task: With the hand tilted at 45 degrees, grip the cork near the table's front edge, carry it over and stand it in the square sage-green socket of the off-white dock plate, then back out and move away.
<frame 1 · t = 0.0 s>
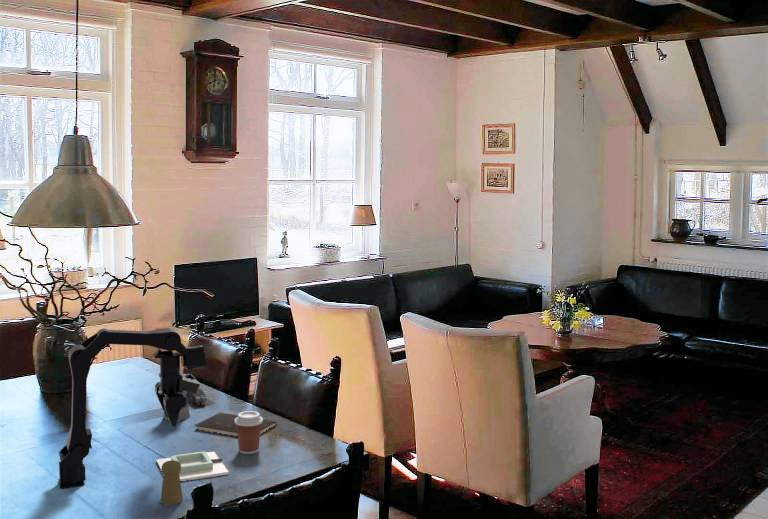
hand: (171, 421, 243), 15 cm above the table, tool pointing down, fingers open, 9 cm apart
cork: (171, 501, 223), on the table
coffee cup: (248, 450, 262), on the table
gun: (194, 399, 315), on the table
dock plate: (191, 468, 246), on the table
coffeepot: (176, 418, 292), on the table
hardcover book: (236, 429, 283), on the table
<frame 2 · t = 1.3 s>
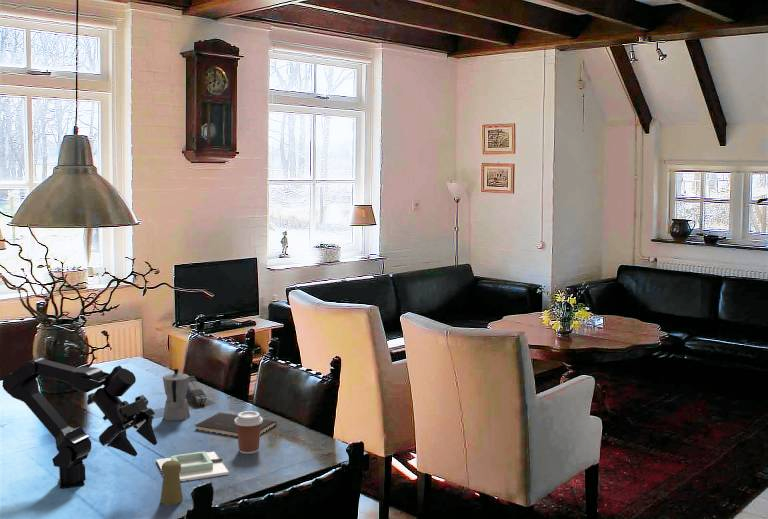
hand: (146, 449, 224), 13 cm above the table, tool tilted 45°, fingers open, 9 cm apart
nothing on the table moved.
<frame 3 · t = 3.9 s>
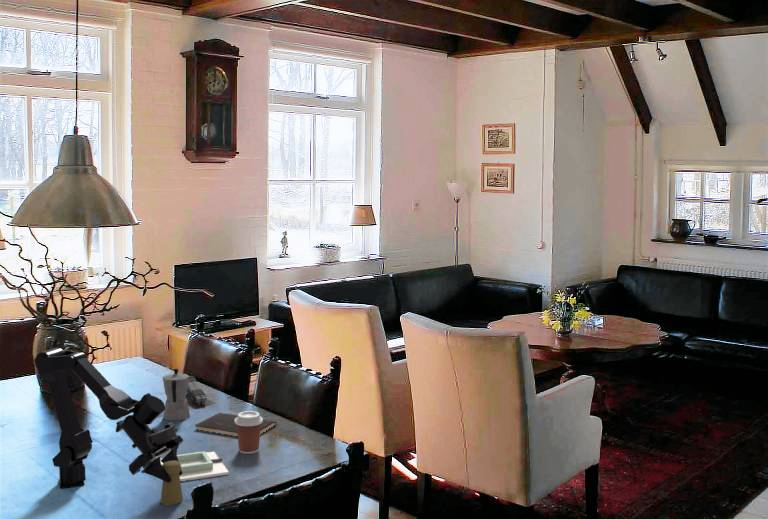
hand: (175, 478, 221), 7 cm above the table, tool tilted 45°, fingers closed on cork, 5 cm apart
cork: (171, 501, 223), on the table, touching gripper
everything else where it was.
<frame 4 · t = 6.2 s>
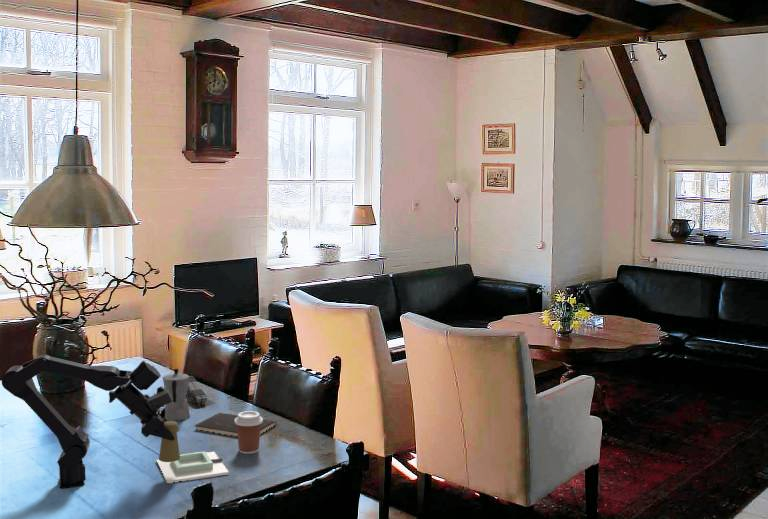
hand: (174, 436, 238), 12 cm above the table, tool tilted 45°, fingers closed on cork, 5 cm apart
cork: (169, 459, 238), point 5 cm above the table, touching gripper
everything else where it was.
when the fingers open (8 cm above the table, at t = 8.7 s): cork stays where it is, resting on dock plate.
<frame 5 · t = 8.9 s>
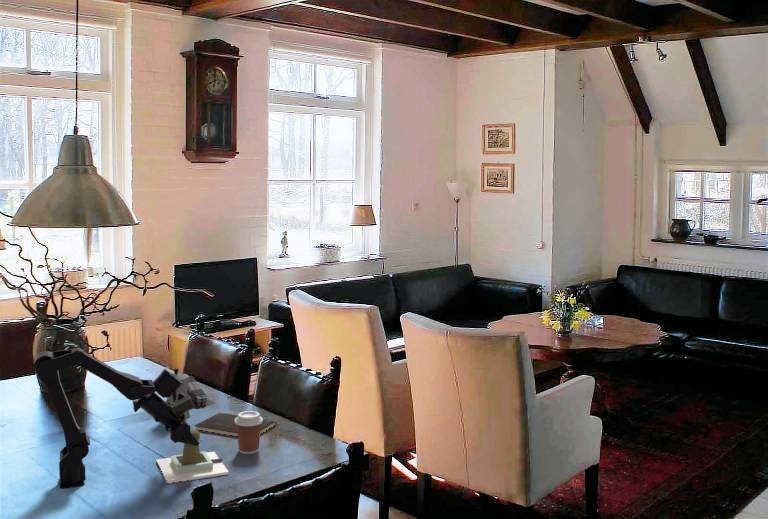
hand: (196, 440, 245), 9 cm above the table, tool tilted 45°, fingers open, 7 cm apart
cork: (191, 466, 246), point 1 cm above the table, touching dock plate
everything else where it was.
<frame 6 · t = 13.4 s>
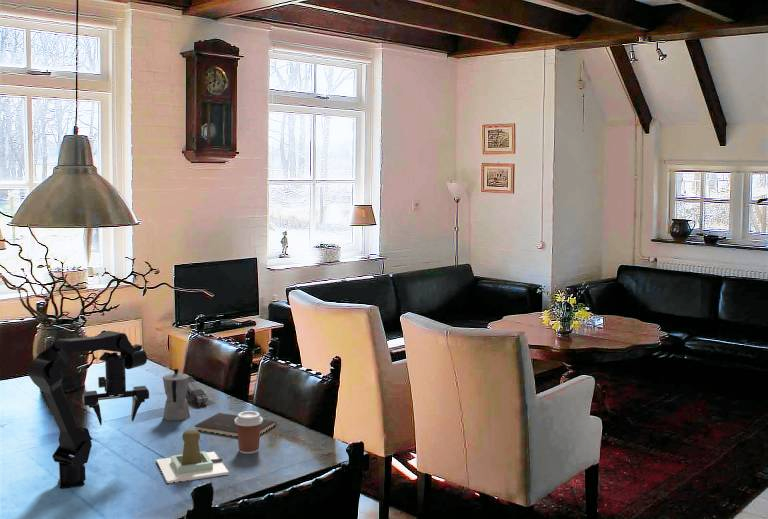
hand: (116, 422, 246), 13 cm above the table, tool pointing down, fingers open, 9 cm apart
nothing on the table moved.
at the end: cork 0.1 cm off-centre on the dock plate, point 0.6 cm above the dock plate's base; cork tilted 0°; the gripper is holding nothing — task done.
